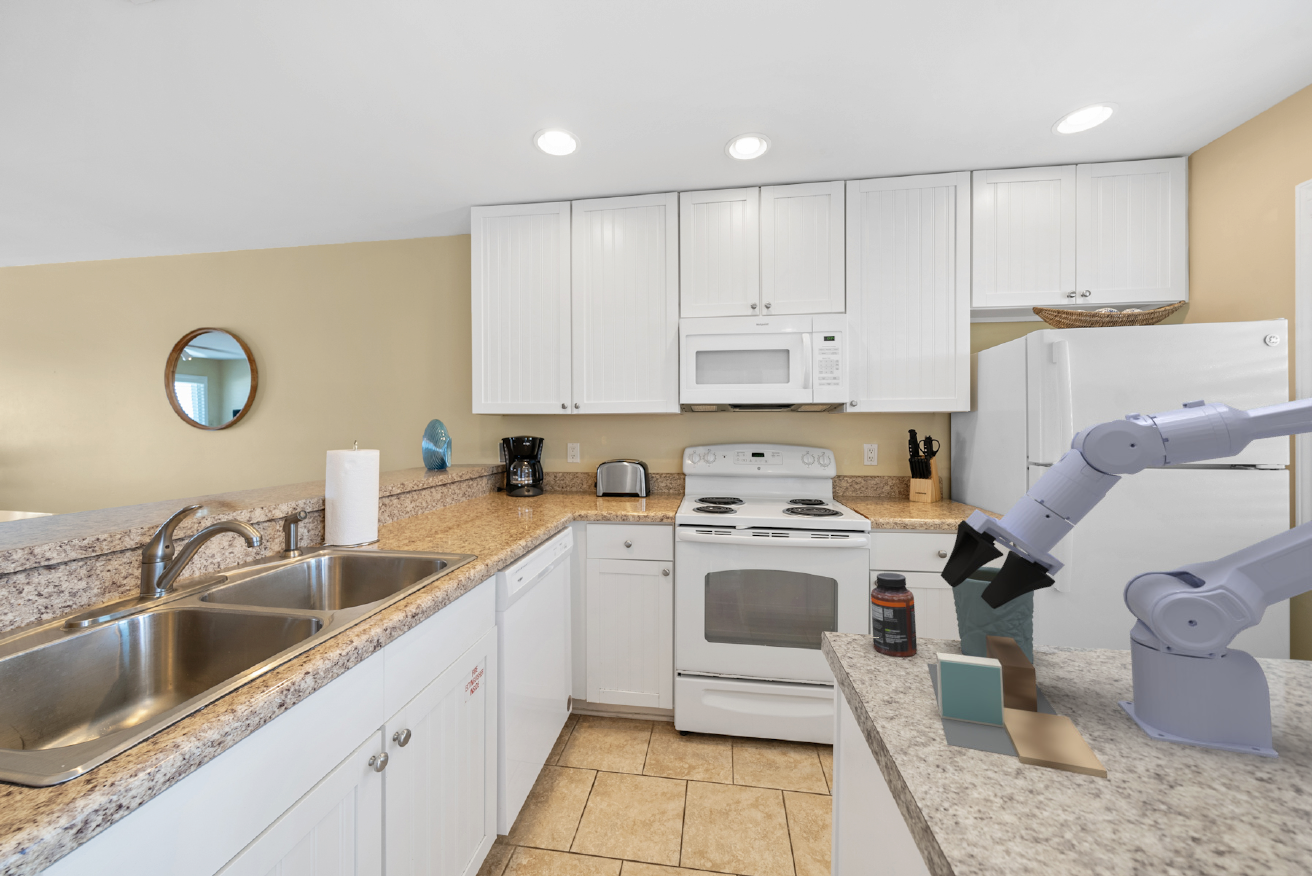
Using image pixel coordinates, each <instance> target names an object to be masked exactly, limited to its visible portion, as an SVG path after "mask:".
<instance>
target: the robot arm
mask: <svg viewBox="0 0 1312 876" xmlns="http://www.w3.org/2000/svg"><path fill="white" fill-rule="evenodd" d="M1181 405H1182V408H1178V409H1172V410H1167V411H1161V412H1155V413H1151V414H1150V413H1149V414H1144V415H1143V414H1142V415H1141V413H1140V412H1133V413H1128V414H1127V413H1126V414H1125V415H1124V419H1121V418H1119V419H1118V418H1117V419H1114V420H1111V421H1107V422H1099V423H1095V424H1091V425H1089V426H1087V427H1085V428H1084V429H1082V430H1080V431H1077V432H1076V433H1075V434H1074V435H1073V437H1072V439H1071V443H1070V448H1069V450H1068V451H1067V452H1065V453H1063V455H1061V457H1060V459H1059V460H1058V461H1057V462H1056V463H1054V464H1052V465H1051V466H1050V467H1049V468H1048V469H1047V470H1046V471H1045V472H1044V473H1043V474H1042V476H1040V477H1039V479H1037V481H1036V482H1035V483H1033V484H1032V486H1030V488H1028V490H1027V491H1026V492H1025V493H1024V494H1023V495H1022V496H1021V497H1020V498H1019V500H1018V501H1016V503H1015V504H1013V506H1012V507H1011V508H1010V509H1009V510H1008V511H1007V512H1006V513H1005V514H1004V515H1003V516H1002V517H1001V519H999V518H996V517H992V516H990V515H988V514H986V513H984V512H982V511H981V510H980V509H979V510H978V509H975V510H974V511H973V512H972V513H971V514H970V515H969V517H967V519H966V520H965V519H962V520H961V522H959V524H958V525H957V533H956V538H955V542H954V545H953V549H952V550H951V553H950V556H949V558H948V560H947V562H946V564H945V566H944V568H943V570H942V572H941V573H940V576H941V577H942V579H943V580H944V581H945V582H946V583H947V584H948V585H949V586H950V587H951V588H952V587H956V586H958V585H959V584H961V583H962V582H963V581H965V580H966V579H967V578H968V577H969V576H970V575H971V574H973V573H974V572H975V571H976V570H977V569H979V568H980V567H984V566H985V565H986V564H988V563H991V562H992V561H994V560H997V559H998V558H1002V557H1004V553H1003V552H1002V551H1001V550H1000V549H998V548H997V547H996V546H995V545H996V542H997V543H998V544H1000V545H1001V546H1003V547H1005V548H1006V549H1008V553H1007V555H1006V557H1005V560H1004V562H1003V565H1002V566H1001V567H1000V568H1001V570H1000V571H999V573H998V574H997V575H996V577H995V578H994V579H993V580H992V581H991V583H990V584H989V585H988V586H987V587H986V589H985V590H984V591H983V593H982V595H981V598H982V599H983V600H984V601H985V602H986V603H987V604H988V605H989V606H990V607H991V608H993V609H996V608H998V607H1000V606H1002V605H1004V604H1006V603H1007V602H1009V601H1011V600H1013V599H1015V598H1017V597H1019V596H1021V595H1023V594H1026V593H1028V592H1031V591H1034V592H1035V591H1038V590H1040V589H1046V588H1051V587H1052V586H1053V585H1054V584H1055V583H1056V580H1055V579H1054V578H1053V577H1054V576H1055V575H1056V574H1057V573H1058V572H1059V571H1060V570H1062V569H1063V568H1064V566H1065V564H1064V563H1063V562H1062V561H1061V560H1059V559H1058V558H1057V557H1055V556H1054V555H1052V554H1051V553H1050V551H1051V550H1052V549H1053V548H1055V546H1056V545H1057V544H1058V543H1059V542H1060V541H1062V539H1063V538H1064V537H1066V535H1068V534H1069V532H1071V531H1072V530H1073V529H1074V528H1075V526H1076V525H1078V523H1079V522H1081V521H1082V520H1083V519H1084V517H1086V515H1088V513H1090V511H1092V510H1093V509H1094V508H1095V507H1096V506H1097V505H1098V504H1099V503H1100V501H1102V500H1103V499H1104V498H1105V497H1106V494H1107V493H1108V492H1109V491H1110V490H1111V489H1112V488H1113V487H1115V485H1116V484H1118V482H1119V481H1120V480H1121V479H1123V476H1122V475H1126V474H1127V475H1135V474H1138V473H1140V472H1142V471H1144V470H1145V469H1146V468H1147V467H1149V466H1151V467H1153V468H1160V467H1168V466H1174V465H1180V464H1188V463H1189V464H1190V463H1195V462H1202V461H1210V460H1214V459H1215V460H1216V459H1223V458H1230V457H1231V458H1232V457H1236V456H1238V455H1239V454H1240V453H1242V452H1243V451H1244V450H1245V448H1246V447H1247V446H1249V445H1250V444H1251V443H1252V442H1253V441H1255V440H1263V439H1269V438H1278V437H1286V436H1292V435H1293V436H1294V435H1300V434H1306V433H1308V434H1309V433H1312V397H1306V398H1305V397H1304V398H1301V399H1297V400H1295V399H1294V400H1291V401H1284V402H1280V403H1275V404H1269V405H1264V406H1261V407H1255V408H1250V409H1244V410H1241V409H1238V408H1235V407H1233V406H1230V405H1228V404H1226V403H1222V402H1218V401H1215V402H1210V403H1205V400H1204V399H1195V400H1191V401H1190V400H1189V401H1185V402H1182V403H1181ZM1011 543H1013V544H1014V545H1016V546H1017V547H1016V546H1014V545H1013V544H1011ZM1018 547H1019V548H1018ZM1049 574H1050V575H1051V576H1050V575H1049ZM1310 591H1312V520H1309V521H1306V522H1304V523H1301V524H1300V525H1297V526H1294V527H1292V528H1290V529H1287V530H1285V531H1283V532H1280V533H1277V534H1276V535H1274V536H1270V537H1268V538H1266V539H1264V540H1261V541H1259V542H1256V543H1254V544H1252V545H1248V546H1247V547H1244V548H1241V549H1239V550H1237V551H1235V552H1232V553H1230V554H1227V555H1225V556H1222V557H1221V558H1218V559H1215V560H1210V561H1201V562H1195V563H1190V564H1184V565H1181V566H1179V567H1177V568H1176V567H1175V568H1174V569H1170V570H1169V569H1168V570H1164V571H1163V570H1162V571H1161V570H1156V571H1154V570H1152V571H1150V570H1149V571H1145V572H1141V573H1139V574H1136V575H1134V576H1133V577H1131V579H1129V580H1128V581H1127V582H1126V584H1125V585H1124V589H1123V592H1122V593H1123V594H1122V595H1123V596H1122V597H1123V601H1124V605H1125V606H1126V608H1127V610H1128V611H1129V612H1130V613H1131V614H1132V615H1133V617H1135V618H1136V622H1135V624H1134V626H1132V628H1131V629H1130V631H1129V636H1130V638H1129V639H1130V640H1129V642H1130V654H1131V655H1130V658H1131V659H1130V660H1131V677H1132V678H1131V679H1132V696H1133V698H1132V699H1133V701H1129V700H1127V701H1126V700H1118V701H1117V705H1118V706H1119V708H1121V710H1122V711H1124V713H1125V714H1126V715H1127V716H1128V717H1129V718H1130V719H1131V721H1133V722H1134V724H1136V725H1137V727H1138V728H1139V729H1141V731H1142V732H1143V733H1144V734H1145V735H1146V736H1147V737H1148V738H1149V739H1151V740H1154V741H1158V742H1165V743H1166V742H1167V743H1172V744H1180V745H1185V746H1193V747H1199V748H1206V749H1213V750H1219V751H1220V750H1221V751H1225V752H1226V751H1227V752H1233V753H1240V754H1247V755H1252V756H1253V755H1254V756H1258V757H1259V756H1260V757H1265V758H1266V757H1268V758H1272V759H1278V758H1279V755H1280V754H1279V752H1277V751H1276V750H1275V749H1274V748H1273V747H1274V746H1273V731H1272V730H1273V729H1272V715H1271V699H1270V698H1271V697H1270V696H1271V695H1270V688H1269V684H1268V680H1267V677H1266V675H1265V672H1264V670H1263V668H1262V666H1261V665H1260V663H1259V662H1258V660H1257V659H1256V657H1254V656H1253V655H1251V654H1250V653H1249V652H1248V651H1246V650H1245V651H1244V650H1242V649H1237V648H1229V647H1228V646H1229V645H1230V644H1231V643H1232V642H1233V641H1234V639H1235V638H1236V637H1237V635H1239V634H1240V633H1242V632H1243V631H1245V630H1247V629H1249V628H1252V627H1255V626H1258V625H1259V624H1260V623H1261V621H1262V620H1263V617H1264V615H1265V612H1266V610H1267V609H1268V607H1269V606H1271V605H1275V604H1279V603H1280V602H1283V601H1286V600H1288V599H1291V598H1294V597H1296V596H1299V595H1302V594H1304V593H1306V592H1310Z"/></svg>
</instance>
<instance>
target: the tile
mask: <svg viewBox="0 0 1312 876" xmlns="http://www.w3.org/2000/svg"><path fill="white" fill-rule="evenodd" d="M935 656H936V664H937V680H938V703H939V709H938V712H940V713H939V716H941V717H940V719H941V718H945V719H952V720H958V721H965V722H971V723H977V724H984V725H990V726H997V727H1003V728H1005V724H1004V703H1003V682H1002V666H1001V664H1000V662H999V661H998V659H992V658H983V657H974V656H965V655H964V654H956V653H955V654H954V653H945V652H936V655H935Z"/></svg>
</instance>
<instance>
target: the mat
mask: <svg viewBox="0 0 1312 876" xmlns="http://www.w3.org/2000/svg"><path fill="white" fill-rule="evenodd" d="M926 665H927V668H928V671H929V675H930V680H931V683H932V687H933V693H934V696H935V700H936V704H937V708H938V710H939V703H938V680H937V663H927V664H926ZM1036 693H1037V712H1038V713H1045V714H1052V715H1059V714H1058V712H1057V711H1056V710H1055V708H1054V707H1053V705H1052V704H1051V703H1050V701H1049V700H1048V699H1047V697H1046V695H1045V694H1044V693H1043V691H1042V689H1041V688H1040V687H1039V685H1038V684H1037V683H1036ZM1004 708H1005V707H1004ZM938 712H939V711H938ZM939 714H940V712H939ZM939 716H940V715H939ZM940 720H941V725H942V729H943V733H944V736H945V740H946V745H947V746H952V747H957V748H964V749H970V750H974V751H975V750H976V751H981V752H986V753H993V754H999V755H1003V756H1010V757H1016V758H1018V755H1017V753H1016V751H1015V749H1014V747H1013V745H1012V742H1011V740H1010V738H1009V736H1008V734H1007V732H1006V730H1005V728H1003V727H997V726H990V725H984V724H977V723H971V722H965V721H958V720H952V719H945V718H941V716H940Z"/></svg>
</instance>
